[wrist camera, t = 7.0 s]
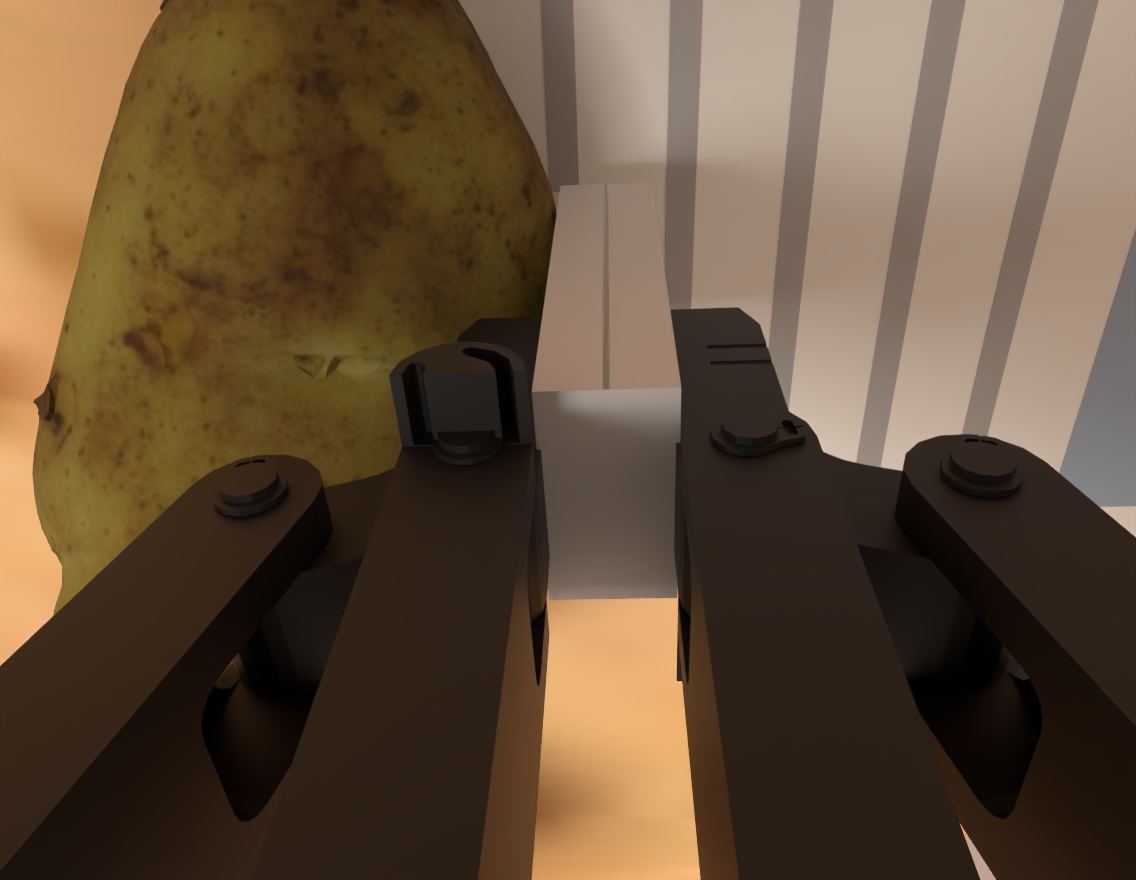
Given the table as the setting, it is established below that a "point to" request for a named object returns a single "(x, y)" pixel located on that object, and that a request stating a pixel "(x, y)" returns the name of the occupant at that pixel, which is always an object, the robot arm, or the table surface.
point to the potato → (279, 252)
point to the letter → (875, 200)
